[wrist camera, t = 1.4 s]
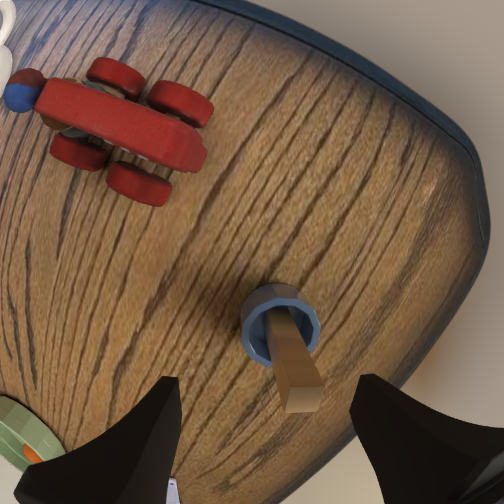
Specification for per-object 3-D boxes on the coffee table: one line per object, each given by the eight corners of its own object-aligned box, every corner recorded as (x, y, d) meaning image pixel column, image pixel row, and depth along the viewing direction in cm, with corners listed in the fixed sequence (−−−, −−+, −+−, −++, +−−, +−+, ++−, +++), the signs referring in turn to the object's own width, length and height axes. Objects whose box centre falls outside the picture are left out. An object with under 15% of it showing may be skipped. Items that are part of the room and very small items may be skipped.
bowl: (77, 471, 24) (68, 494, 20) (13, 443, 23) (1, 461, 19) (50, 412, 22) (33, 437, 17) (-17, 381, 21) (-35, 399, 16)
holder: (302, 346, 21) (311, 367, 18) (237, 343, 21) (238, 365, 18) (313, 285, 20) (326, 300, 17) (243, 280, 20) (245, 295, 17)
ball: (52, 455, 23) (44, 471, 20) (34, 447, 22) (25, 462, 19) (44, 440, 22) (34, 456, 19) (25, 432, 22) (15, 447, 19)
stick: (285, 328, 20) (317, 411, 12) (263, 327, 20) (283, 413, 12) (288, 308, 20) (325, 385, 11) (266, 307, 20) (289, 387, 11)
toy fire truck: (93, 66, 16) (18, 4, 6) (237, 124, 18) (244, 55, 8) (51, 147, 17) (-49, 132, 7) (187, 217, 19) (138, 248, 9)
